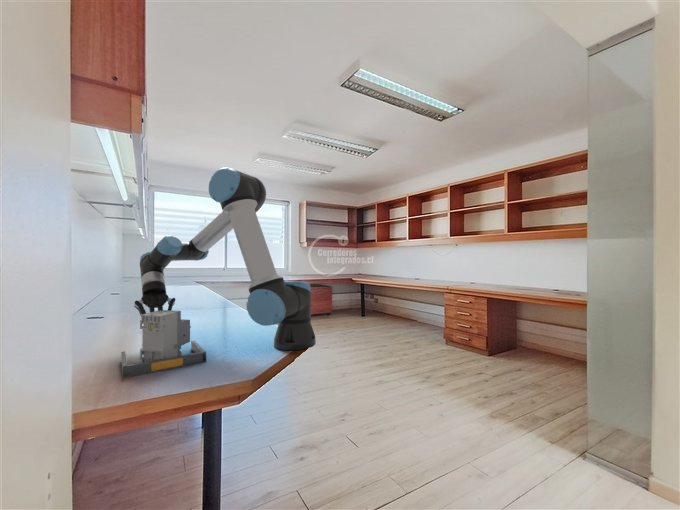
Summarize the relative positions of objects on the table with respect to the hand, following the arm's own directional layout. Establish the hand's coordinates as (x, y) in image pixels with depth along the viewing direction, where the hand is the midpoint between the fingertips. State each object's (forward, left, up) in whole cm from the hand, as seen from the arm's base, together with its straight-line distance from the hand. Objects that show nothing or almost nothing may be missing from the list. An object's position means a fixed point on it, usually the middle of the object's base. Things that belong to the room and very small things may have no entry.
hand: (159, 340), depth 102 cm
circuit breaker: (-5, -2, -5) cm, 7 cm away
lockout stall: (-8, 0, -5) cm, 9 cm away
